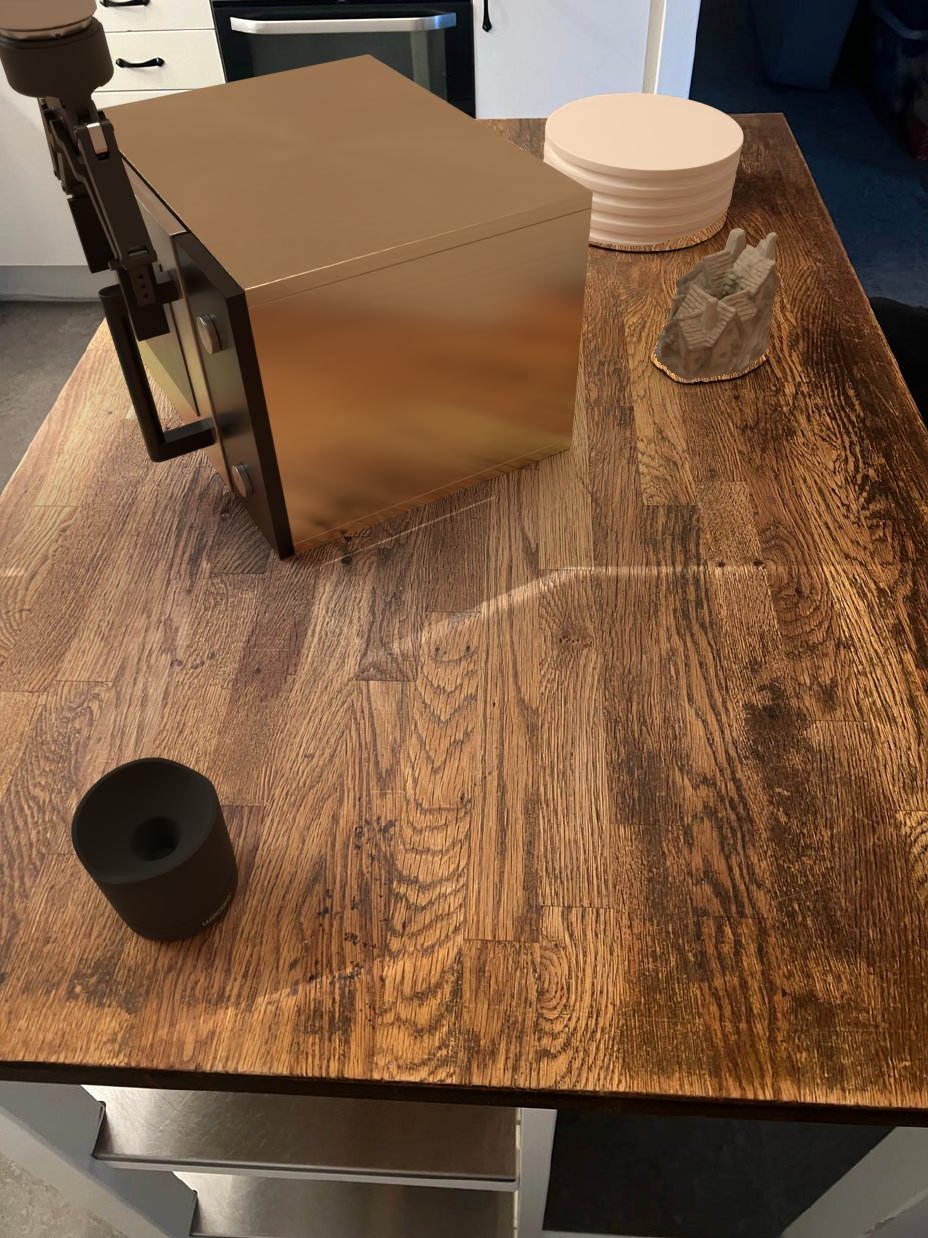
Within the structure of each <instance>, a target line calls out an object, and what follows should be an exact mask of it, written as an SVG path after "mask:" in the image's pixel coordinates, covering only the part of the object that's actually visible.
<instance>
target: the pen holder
mask: <svg viewBox="0 0 928 1238" xmlns="http://www.w3.org/2000/svg"><path fill="white" fill-rule="evenodd" d="M70 835H71V843H72V847H73V850H74V852H75V854H76V857H77V858H78V860H79V862H80V863H81V865H82V866H83V868H84V870H85V871H86V872H87V873H88V875H89V876H90V878H91V879H92V880H93V882H94V884H96V886H97V887H98V889H99V890H100V891H101V893H102V894H103V896H104V897H105V899H106V900H107V901H108V902H109V904H110V905H111V907H112V908H113V910H114V911H115V912H116V914H118V917H120V919H121V920H122V921H123V923H124V924H125V925H126V926H127V927H128V928H129V929H130V930H131V931H133V932H134V933H135V934H137V935H138V936H140V937H142V938H144V939H146V940H150V941H153V942H160V943H161V942H163V943H170V942H179V941H183V940H186V939H189V938H192V937H195V936H197V935H199V934H201V933H203V932H205V931H206V930H208V929H209V928H210V927H212V926H214V924H215V923H216V922H217V921H218V920H220V919H221V917H222V916H223V915H224V914H225V913H226V912H227V910H228V908H229V907H230V905H231V903H232V902H233V899H234V897H235V895H236V892H237V888H238V884H239V883H238V881H239V870H238V864H237V859H236V855H235V852H234V847H233V844H232V841H231V837H230V834H229V830H228V826H227V823H226V820H225V816H224V813H223V809H222V805H221V802H220V799H219V794H218V793H217V790H216V787H215V785H214V783H213V782H212V781H211V779H209V777H207V776H205V775H204V774H202V773H201V772H199V771H197V770H195V769H194V768H191V767H189V766H188V765H185V764H183V763H181V762H178V761H175V760H172V759H169V758H164V757H160V756H159V757H158V756H149V757H142V758H137V759H133V760H130V761H128V762H125V763H122V764H121V765H119V766H117V767H115V768H113V769H111V770H110V771H108V772H106V774H104V775H102V777H100V778H99V779H98V780H97V781H96V782H94V783H93V784H92V785H91V786H90V787H89V789H88V790H87V791H86V792H85V794H84V795H83V796H82V798H81V799H80V801H79V803H78V805H77V807H76V809H75V812H74V814H73V816H72V821H71V828H70Z"/></svg>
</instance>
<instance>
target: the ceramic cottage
mask: <svg viewBox="0 0 928 1238" xmlns="http://www.w3.org/2000/svg"><path fill="white" fill-rule="evenodd" d="M746 236H747V234H746V232H745V230H744V229H743V228H740V227H737V228H732V230H731V231H729V234H728V237H727V240H726V244H725V248H724V249H723V250H720V251H717V252H716V253H713V254H709V255H706V256H703V257H701V259H700V260H699V261H698V262H697V263H696V265H694V266H693V268H692V269H690V270H689V271H687V272H686V273H685V274H684V275H682V276H679V277H678V278H677V279H676V282H675V283H676V287H677V289H676V293H675V294H674V295H673V296H672V298H671V301H672V303H673V304H672V308H671V309H669V311H670V316H669V318H667V319H666V321H665V322H667V323H668V322H669V323H670V324H667V325H666V326H664V327H663V330H662V331H660V330H659V332H658V334H657V337H658V341H659V342H658V344H657V345H656V347H657V348H656V349H653V348H652V350H655V352H654V353H653V354H656V356H655V358H657V361H658V362H660V363H661V365H664V366H666V367H667V370H670V371H671V373H674V374H675V375H677V376H678V377H680V378H683V379H686V380H693V379H695V378H701V379H702V378H709V377H710V378H711V377H714V376H716V377H717V376H721V375H722V376H723V374H725V375H729V374H733V373H735V372H736V373H737V372H740V371H744V370H746V369H747V368H748V367H749V366H751V365H752V364H753V362H754V361H756V360H757V359H758V358H760V357H761V356H762V355H763V354H764V353H765V352H766V350H767V349H768V348H769V346H770V347H771V345H770V330H771V327H772V324H773V320H774V313H773V309H772V307H773V303H774V300H775V297H776V292H777V290H778V289H779V287H780V286H782V285H781V281H782V280H781V277H779V274H778V272H777V268H776V264H777V262H776V261H774V259H775V256H776V243H777V240H778V237H779V235H778V234H777V233H776V232H774V231H772V232H769V233H768V234H766V236H765V238H764V239H761V240H760V241H759V243H758V244H757V246H756V247H754V246H753V245H751V244H747V245H746V238H747V237H746ZM671 321H672V322H671Z"/></svg>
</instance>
